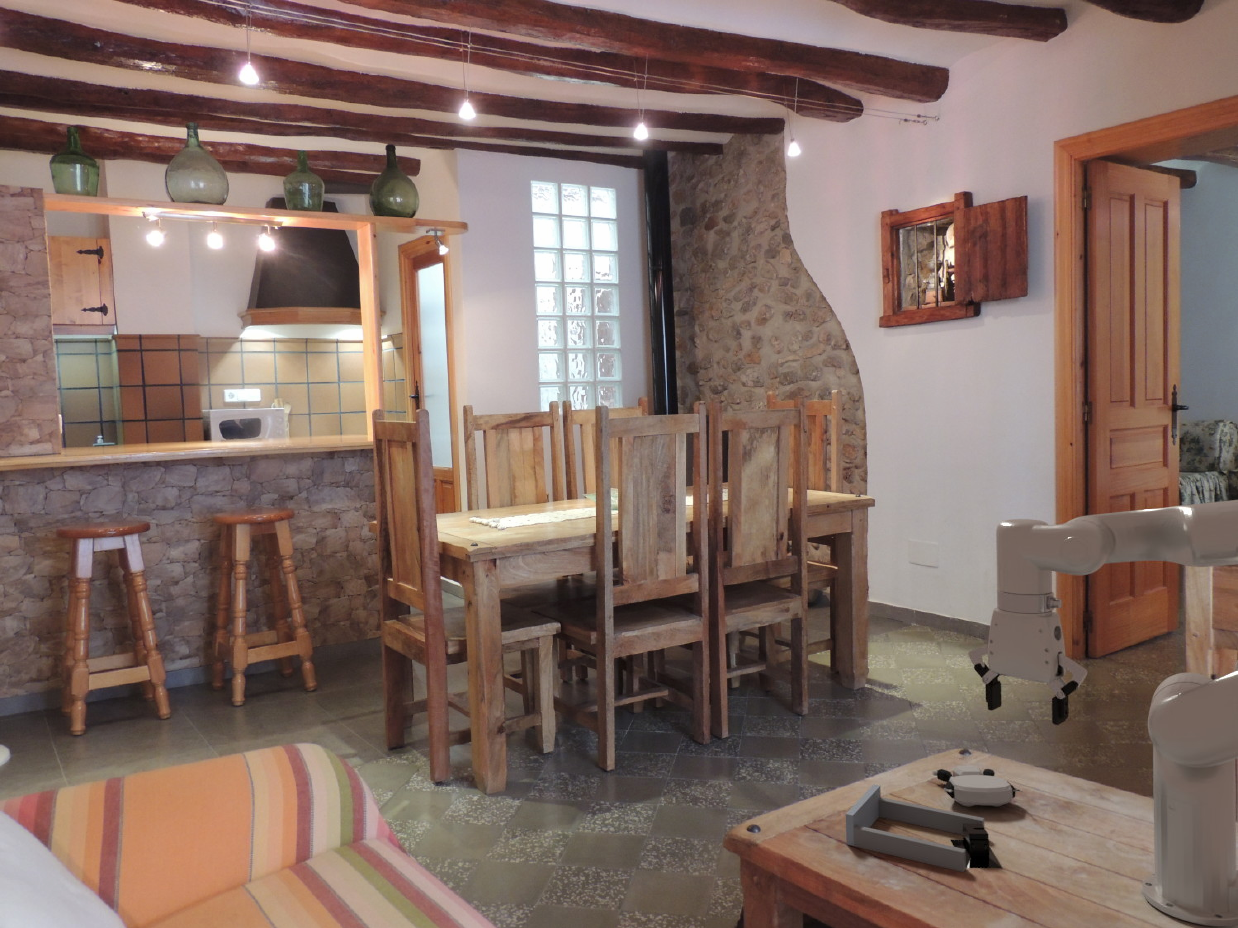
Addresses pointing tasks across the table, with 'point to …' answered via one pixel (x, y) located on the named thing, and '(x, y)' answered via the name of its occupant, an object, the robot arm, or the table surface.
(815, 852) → the table surface
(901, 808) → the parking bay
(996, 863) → the black bracket part
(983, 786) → the robot toy
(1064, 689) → the robot arm
